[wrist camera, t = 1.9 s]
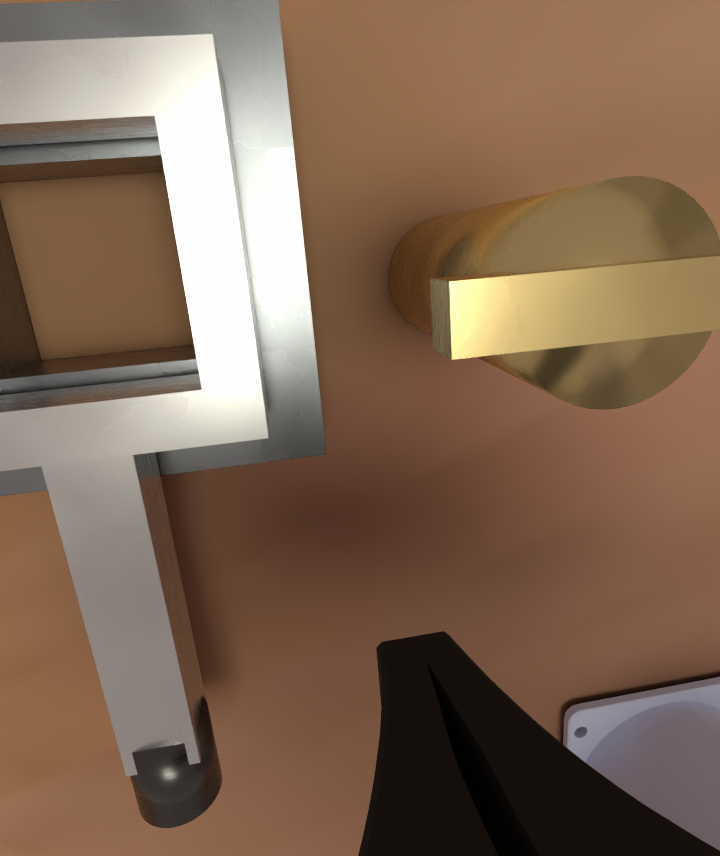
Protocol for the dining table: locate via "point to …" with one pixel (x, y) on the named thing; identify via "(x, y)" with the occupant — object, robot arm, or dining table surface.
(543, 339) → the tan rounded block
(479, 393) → the dining table surface
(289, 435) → the block
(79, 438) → the collar
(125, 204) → the dining table surface
